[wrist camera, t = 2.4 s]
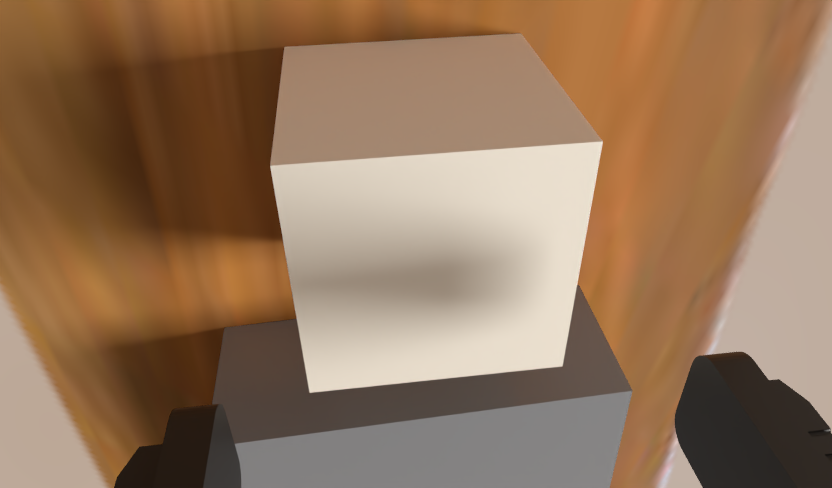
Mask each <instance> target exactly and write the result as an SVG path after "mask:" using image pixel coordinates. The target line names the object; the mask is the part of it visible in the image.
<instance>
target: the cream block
mask: <svg viewBox="0 0 832 488" xmlns="http://www.w3.org/2000/svg"><path fill="white" fill-rule="evenodd" d="M602 143H603V141H602V140H601V138H600V137H599V136H598V134H597V133H596V132H595V130H594V129H593V128H592V126H591V125H590V124H589V123H588V121H587V120H586V119H585V117H584V116H583V115H582V113H581V112H580V111H579V109H578V108H577V107H576V105H575V104H574V103H573V101H572V100H571V99H570V97H569V96H568V95H567V93H566V92H565V91H564V90H563V88H562V87H561V86H560V84H559V83H558V82H557V80H556V79H555V78H554V76H553V75H552V74H551V72H550V71H549V70H548V68H547V67H546V66H545V64H544V63H543V62H542V60H541V59H540V58H539V56H538V55H537V54H536V53H535V51H534V50H533V49H532V47H531V46H530V45H529V43H528V42H527V41H526V39H525V38H524V37H523V35H522V34H521V33H518V34H501V35H483V36H466V37H448V38H431V39H413V40H396V41H378V42H361V43H343V44H326V45H308V46H291V47H284V54H283V63H282V71H281V79H280V88H279V96H278V104H277V112H276V121H275V129H274V137H273V146H272V154H271V162H270V168H271V174H272V180H273V185H274V191H275V197H276V203H277V208H278V214H279V220H280V226H281V231H282V237H283V243H284V249H285V254H286V260H287V266H288V272H289V277H290V283H291V289H292V295H293V300H294V306H295V312H296V318H297V323H298V329H299V335H300V341H301V346H302V352H303V358H304V364H305V369H306V375H307V381H308V387H309V392H310V393H313V392H322V391H332V390H341V389H351V388H360V387H370V386H379V385H389V384H399V383H408V382H418V381H427V380H437V379H446V378H456V377H466V376H475V375H485V374H494V373H504V372H513V371H523V370H533V369H542V368H552V367H561V366H563V361H564V355H565V350H566V344H567V338H568V333H569V327H570V322H571V316H572V311H573V305H574V299H575V294H576V288H577V283H578V277H579V271H580V266H581V260H582V255H583V249H584V244H585V238H586V232H587V227H588V221H589V216H590V210H591V205H592V199H593V193H594V188H595V182H596V177H597V171H598V165H599V160H600V154H601V149H602Z"/></svg>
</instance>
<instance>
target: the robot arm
mask: <svg viewBox="0 0 832 488" xmlns="http://www.w3.org/2000/svg"><path fill="white" fill-rule="evenodd" d="M675 428H676V434H677V438H678V441H679V444H680V446H681V448H682V450H683V452H684V454H685V456H686V458H687V459H688V461H689V463H690V465H691V467H692V469H693V470H694V472H695V474H696V476H697V478H698V479H699V481H700V483H701V485H702V487H703V488H832V434H831V431H830V428H829V426H828V425H827V424H826V422H825V421H824V420H823V419H822V418H821V416H820V415H819V414H818V412H817V411H816V410H815V409H814V407H813V406H812V405H811V404H810V402H808V401H807V400H806V399H805V398H803V397H802V396H801V395H799V394H798V393H797V392H795V391H794V390H793V389H791V388H790V387H789V386H787V385H786V384H784V383H783V382H782V381H780V380H779V379H778V380H768V379H767V377H766V376H765V375H764V373H763V372H762V371H761V369H760V368H759V367H758V365H757V364H756V363H755V361H754V360H753V359H752V358H751V357H750V356H749V355H748V354H746V353H744V352H732V353H722V354H712V355H703V356H698V357H696V358H695V359H694V361H693V363H692V366H691V368H690V371H689V374H688V377H687V380H686V383H685V386H684V389H683V392H682V395H681V398H680V401H679V404H678V407H677V410H676V414H675ZM114 488H241V469H240V462H239V458H238V454H237V451H236V447H235V444H234V440H233V437H232V433H231V430H230V426H229V423H228V419H227V416H226V412H225V409H224V407H223V405H222V404H213V405H204V406H194V407H184V408H175V409H174V410H172V412H171V414H170V417H169V420H168V424H167V429H166V433H165V437H164V441H163V444H161V445H152V446H143V447H139V448H138V449H137V451H136V452H135V454H134V455H133V456H132V458H131V459H130V460H129V462H128V463H127V465H126V466H125V467H124V469H123V470H122V471H121V473H120V474H119V476H118V477H117V480H116V483H115V486H114Z"/></svg>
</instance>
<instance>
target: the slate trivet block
mask: <svg viewBox="0 0 832 488" xmlns="http://www.w3.org/2000/svg"><path fill="white" fill-rule="evenodd" d="M631 394H632V389H631V387H630V385H629V383H628V381H627V379H626V377H625V375H624V373H623V371H622V369H621V367H620V365H619V363H618V361H617V359H616V357H615V355H614V353H613V352H612V350H611V348H610V346H609V344H608V342H607V340H606V338H605V336H604V334H603V332H602V330H601V328H600V326H599V324H598V322H597V320H596V318H595V316H594V314H593V312H592V310H591V308H590V306H589V304H588V302H587V300H586V298H585V296H584V294H583V292H582V290H581V288H580V286H579V285H577V288H576V294H575V299H574V305H573V311H572V316H571V322H570V327H569V333H568V338H567V344H566V350H565V355H564V361H563V366H561V367H552V368H542V369H533V370H523V371H513V372H504V373H494V374H485V375H475V376H466V377H456V378H446V379H437V380H427V381H418V382H408V383H399V384H389V385H379V386H370V387H360V388H351V389H341V390H332V391H322V392H313V393H310V392H309V387H308V381H307V375H306V369H305V364H304V358H303V352H302V346H301V341H300V335H299V329H298V323H297V319H292V320H284V321H275V322H267V323H259V324H250V325H242V326H234V327H225V328H224V334H223V340H222V346H221V352H220V358H219V364H218V371H217V377H216V383H215V389H214V395H213V401H212V405H213V404H222V405H223V407H224V409H225V412H226V416H227V419H228V423H229V426H230V430H231V433H232V437H233V440H234V444H235V447H236V451H237V454H238V458H239V462H240V469H241V488H610V483H611V479H612V475H613V471H614V466H615V462H616V458H617V454H618V449H619V445H620V441H621V437H622V432H623V428H624V424H625V420H626V416H627V411H628V407H629V403H630V399H631Z"/></svg>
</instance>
